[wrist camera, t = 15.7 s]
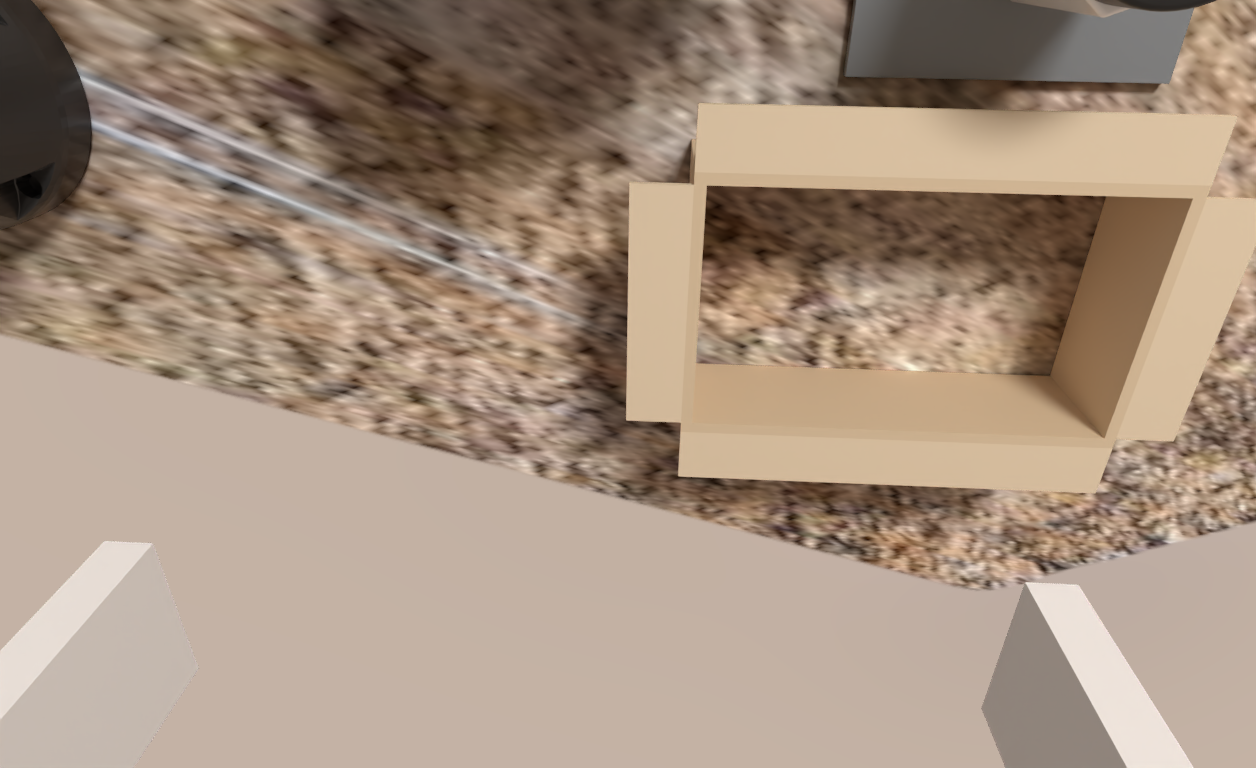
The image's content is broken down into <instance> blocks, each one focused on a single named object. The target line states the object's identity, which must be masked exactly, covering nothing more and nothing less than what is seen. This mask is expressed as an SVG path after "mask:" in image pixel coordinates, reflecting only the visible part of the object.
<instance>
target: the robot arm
mask: <svg viewBox="0 0 1256 768" xmlns="http://www.w3.org/2000/svg"><path fill="white" fill-rule="evenodd" d="M90 142H91V126H90V116H89V109H88V104H87V99H86V96H85V92H84V89H83V86H82V83H81V80H80V77H79V75H78V72H77V70H76V67H75V65H74V63H73V61H72V59H71V57H70V55H69V53H68V51H67V49H66V47H65V46H64V44H63V42H62V41H61V39H60V37H59V36H58V34H57V33H56V31H55V30H54V28H53V27H52V25H51V24H50V23H49V21H48V20H47V19H46V17H45V16H44V15H43V14H42V12H41V11H40V10H39V9H38V8H37V6H36V5H35V4H34V3H33V2H32V1H31V0H0V229H4V228H8V227H12V226H15V225H17V224H20V223H23V222H25V221H27V220H30V219H32V218H34V217H37V216H39V215H41V214H44V213H46V212H48V211H50V210H52V209H53V208H55V207H56V206H58V205H59V204H60V203H62V202H63V201H64V200H65V199H66V198H67V197H68V196H69V195H70V194H71V193H72V191H73V190H74V189H75V187H76V186H77V184H78V183H79V181H80V179H81V177H82V175H83V173H84V170H85V168H86V164H87V161H88V156H89V151H90ZM197 670H198V665H197V662H196V660H195V657H194V654H193V651H192V649H191V646H190V643H189V641H188V638H187V635H186V632H185V629H184V627H183V624H182V621H181V618H180V616H179V613H178V610H177V608H176V605H175V602H174V599H173V597H172V594H171V591H170V588H169V586H168V584H167V580H166V577H165V575H164V572H163V569H162V566H161V564H160V561H159V558H158V555H157V553H156V550H155V547H154V544H153V543H134V542H112V541H104V542H103V543H102V544H101V545H100V546H99V547H98V549H97V550H96V551H95V552H94V553H93V554H92V555H91V556H90V557H89V558H88V559H87V560H86V561H85V562H84V563H83V564H82V565H81V566H80V568H78V570H77V571H76V572H75V573H74V574H73V575H72V576H71V577H70V578H69V579H68V580H67V581H66V582H65V583H64V584H63V585H62V586H61V587H60V589H58V591H57V592H56V593H55V594H54V595H53V596H52V597H51V598H50V599H49V600H48V601H47V602H46V603H45V604H44V605H43V606H42V607H41V608H40V609H39V611H38V612H37V613H36V614H35V615H34V616H33V617H32V618H31V619H30V620H29V621H28V622H27V623H26V624H25V625H24V626H23V627H22V629H20V631H19V632H18V633H17V634H16V635H15V636H14V637H13V638H12V639H11V640H10V641H9V642H8V643H7V644H6V646H4V647H3V648H2V649H1V651H0V768H134V767H135V765H136V763H137V762H138V761H139V759H140V758H141V756H142V755H143V753H144V751H145V750H146V748H147V747H148V745H149V744H150V742H151V741H152V739H153V738H154V736H155V735H156V733H157V732H158V730H159V729H160V727H161V725H162V724H163V722H164V721H165V719H166V718H167V716H168V715H169V713H170V712H171V710H172V709H173V707H174V706H175V704H176V703H177V701H178V699H179V698H180V696H181V695H182V693H183V692H184V690H185V689H186V687H187V686H188V684H189V683H190V681H191V679H192V678H193V677H194V675H195V673H196V672H197ZM982 711H983V713H984V716H985V718H986V721H987V723H988V726H989V728H990V731H991V733H992V736H993V738H994V740H995V743H996V746H997V748H998V751H999V753H1000V755H1001V758H1002V760H1003V763H1004V765H1005V768H1194V767H1193V766H1192V765H1191V763H1190V761H1189V760H1188V758H1187V756H1186V755H1185V753H1184V752H1183V750H1182V749H1181V747H1180V745H1179V744H1178V742H1177V740H1176V739H1175V737H1174V736H1173V734H1172V733H1171V731H1170V729H1169V728H1168V726H1167V725H1166V723H1165V721H1164V720H1163V718H1162V717H1161V715H1160V714H1159V712H1158V711H1157V709H1156V707H1155V706H1154V704H1153V702H1152V701H1151V699H1150V698H1149V696H1148V695H1147V693H1146V692H1145V690H1144V688H1143V686H1142V685H1141V684H1140V682H1139V680H1138V679H1137V677H1136V675H1135V674H1134V672H1133V671H1132V669H1131V667H1130V666H1129V664H1128V663H1127V661H1126V660H1125V658H1124V657H1123V655H1122V653H1121V652H1120V650H1119V648H1118V647H1117V645H1116V644H1115V642H1114V640H1113V639H1112V637H1111V636H1110V634H1109V633H1108V631H1107V630H1106V628H1105V627H1104V625H1103V623H1102V621H1101V620H1100V618H1099V617H1098V615H1097V614H1096V612H1095V610H1094V609H1093V607H1092V606H1091V604H1090V602H1089V601H1088V599H1087V598H1086V596H1085V595H1084V593H1083V591H1082V590H1081V588H1080V587H1079V585H1073V584H1072V585H1071V584H1049V583H1028V582H1025V584H1024V587H1023V590H1022V593H1021V596H1020V599H1019V602H1018V605H1017V608H1016V610H1015V614H1014V616H1013V619H1012V622H1011V625H1010V628H1009V630H1008V633H1007V636H1006V639H1005V642H1004V645H1003V648H1002V651H1001V653H1000V656H999V659H998V662H997V665H996V668H995V671H994V674H993V676H992V679H991V682H990V685H989V688H988V691H987V694H986V697H985V700H984V702H983V705H982Z"/></svg>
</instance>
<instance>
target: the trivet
mask: <svg viewBox="0 0 1256 768" xmlns="http://www.w3.org/2000/svg"><path fill="white" fill-rule="evenodd" d="M1193 10H1194V8H1191V9H1186V10H1180V11H1171V12H1154V11H1146V10H1139V9H1132V8H1131V9H1128V10H1125V11H1122V12H1119V13H1117V14H1114V15H1111V16H1108V17H1105V18H1101V17H1096V16H1090V15H1084V14H1078V13H1073V12H1067V11H1061V10H1056V9H1050V8H1044V7H1038V6H1033V5H1027V4H1021V3H1015V2H1012V1H1011V0H854V2H853V9H852V17H851V24H850V31H849V38H848V46H847V53H846V60H845V67H844V74H843V75H844V76H845V77H884V78H930V79H977V80H1024V81H1071V82H1117V83H1164V84H1169V83H1170V80H1171V77H1172V74H1173V71H1174V67H1175V64H1176V61H1177V58H1178V55H1179V52H1180V49H1181V46H1182V43H1183V40H1184V37H1185V34H1186V31H1187V28H1188V25H1189V22H1190V19H1191V16H1192V13H1193Z"/></svg>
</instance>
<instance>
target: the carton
mask: <svg viewBox="0 0 1256 768" xmlns="http://www.w3.org/2000/svg"><path fill="white" fill-rule="evenodd" d="M1237 117H1238V116H1235V115H1208V114H1164V113H1120V112H1076V111H1032V110H988V109H944V108H901V107H857V106H813V105H769V104H725V103H698V116H697V134H696V139H692V141H691V161H690V180H689V183H657V182H630V183H629V248H628V319H627V389H626V421H651V422H678V423H680V447H679V465H678V476H680V477H705V478H730V479H754V480H779V481H804V482H828V483H853V484H878V485H902V486H927V487H952V488H977V489H1001V490H1026V491H1051V492H1075V493H1096V491H1097V488H1098V485H1099V483H1100V480H1101V477H1102V475H1103V472H1104V469H1105V467H1106V464H1107V461H1108V459H1109V456H1110V454H1111V451H1112V448H1113V446H1114V443H1115V440H1116V439H1126V440H1152V441H1174V439H1175V437H1176V434H1177V432H1178V429H1179V427H1180V425H1181V422H1182V420H1183V418H1184V415H1185V413H1186V410H1187V408H1188V406H1189V403H1190V401H1191V399H1192V396H1193V394H1194V391H1195V389H1196V387H1197V384H1198V382H1199V380H1200V377H1201V375H1202V372H1203V370H1204V368H1205V365H1206V363H1207V361H1208V358H1209V356H1210V353H1211V351H1212V349H1213V346H1214V344H1215V342H1216V339H1217V337H1218V334H1219V332H1220V330H1221V327H1222V325H1223V323H1224V320H1225V318H1226V315H1227V313H1228V311H1229V308H1230V306H1231V304H1232V301H1233V299H1234V296H1235V294H1236V292H1237V289H1238V287H1239V285H1240V282H1241V280H1242V277H1243V275H1244V273H1245V270H1246V268H1247V266H1248V263H1249V261H1250V258H1251V256H1252V254H1253V251H1254V249H1255V247H1256V198H1221V197H1208V194H1209V191H1210V189H1211V186H1212V184H1213V181H1214V178H1215V176H1216V173H1217V170H1218V168H1219V165H1220V162H1221V160H1222V157H1223V154H1224V152H1225V149H1226V147H1227V144H1228V141H1229V139H1230V136H1231V133H1232V131H1233V128H1234V125H1235V123H1236V120H1237ZM707 186H743V187H780V188H818V189H855V190H893V191H930V192H968V193H1005V194H1043V195H1080V196H1106V199H1105V202H1104V205H1103V208H1102V212H1101V215H1100V218H1099V221H1098V224H1097V228H1096V231H1095V234H1094V237H1093V240H1092V243H1091V247H1090V250H1089V253H1088V256H1087V259H1086V263H1085V266H1084V269H1083V272H1082V275H1081V279H1080V282H1079V285H1078V288H1077V291H1076V294H1075V298H1074V301H1073V304H1072V307H1071V310H1070V314H1069V317H1068V320H1067V323H1066V326H1065V329H1064V333H1063V336H1062V339H1061V342H1060V345H1059V349H1058V352H1057V355H1056V358H1055V361H1054V364H1053V368H1052V371H1051V374H1050V376H1039V375H1010V374H982V373H953V372H925V371H897V370H868V369H840V368H811V367H783V366H754V365H726V364H697V363H696V352H697V336H698V320H699V304H700V288H701V272H702V256H703V240H704V224H705V208H706V192H707Z"/></svg>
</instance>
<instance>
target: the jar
mask: <svg viewBox="0 0 1256 768" xmlns="http://www.w3.org/2000/svg"><path fill="white" fill-rule="evenodd" d="M1011 1H1012V2H1015V3H1021V4H1027V5H1033V6H1038V7H1044V8H1050V9H1056V10H1061V11H1067V12H1073V13H1078V14H1084V15H1090V16H1096V17H1101V18H1105V17H1108V16H1111V15H1114V14H1117V13H1119V12H1122V11H1125V10H1128V9H1131V8H1132V9H1139V10H1146V11H1154V12H1171V11H1180V10H1186V9H1191V8H1195V7H1199V6H1202V5H1205V4H1208V3H1211V2H1214V1H1216V0H1011Z"/></svg>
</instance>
